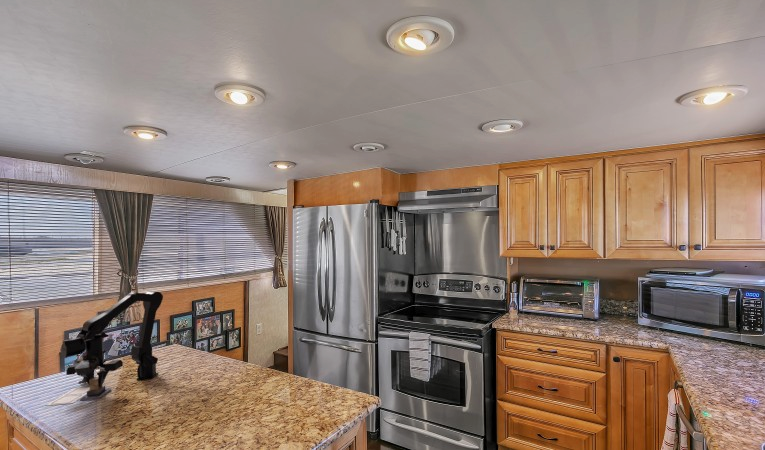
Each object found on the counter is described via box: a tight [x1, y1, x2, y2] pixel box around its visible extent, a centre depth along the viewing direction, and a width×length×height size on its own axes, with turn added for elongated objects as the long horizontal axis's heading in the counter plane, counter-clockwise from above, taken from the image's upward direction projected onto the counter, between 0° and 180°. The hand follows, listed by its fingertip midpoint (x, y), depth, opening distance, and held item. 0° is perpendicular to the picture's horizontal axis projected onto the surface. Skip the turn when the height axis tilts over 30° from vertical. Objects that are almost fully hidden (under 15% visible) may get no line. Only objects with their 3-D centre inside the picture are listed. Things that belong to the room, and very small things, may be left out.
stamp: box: [87, 376, 106, 395], centre depth 151 cm, size 4×4×6 cm
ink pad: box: [79, 387, 112, 401], centre depth 151 cm, size 7×8×1 cm
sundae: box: [74, 351, 87, 384], centre depth 167 cm, size 7×7×15 cm
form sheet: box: [44, 386, 90, 407], centre depth 152 cm, size 10×16×1 cm, turn 6°
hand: (96, 387), depth 151 cm, fingers closed on stamp, 3 cm apart
